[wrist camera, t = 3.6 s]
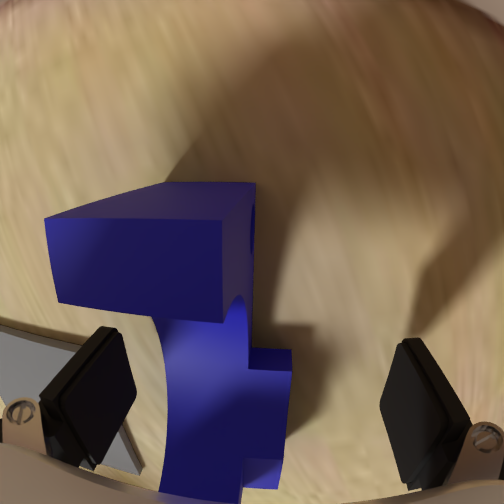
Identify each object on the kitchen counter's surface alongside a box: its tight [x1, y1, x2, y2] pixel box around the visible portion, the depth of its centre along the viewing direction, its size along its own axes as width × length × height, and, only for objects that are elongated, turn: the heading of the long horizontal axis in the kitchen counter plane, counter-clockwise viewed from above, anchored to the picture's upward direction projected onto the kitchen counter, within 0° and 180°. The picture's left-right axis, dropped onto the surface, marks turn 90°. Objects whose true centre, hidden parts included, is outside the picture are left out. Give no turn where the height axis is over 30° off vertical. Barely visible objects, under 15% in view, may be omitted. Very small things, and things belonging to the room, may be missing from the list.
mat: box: [0, 325, 142, 476], centre depth 14 cm, size 11×10×1 cm
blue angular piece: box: [44, 182, 292, 504], centre depth 9 cm, size 12×4×6 cm, turn 179°
